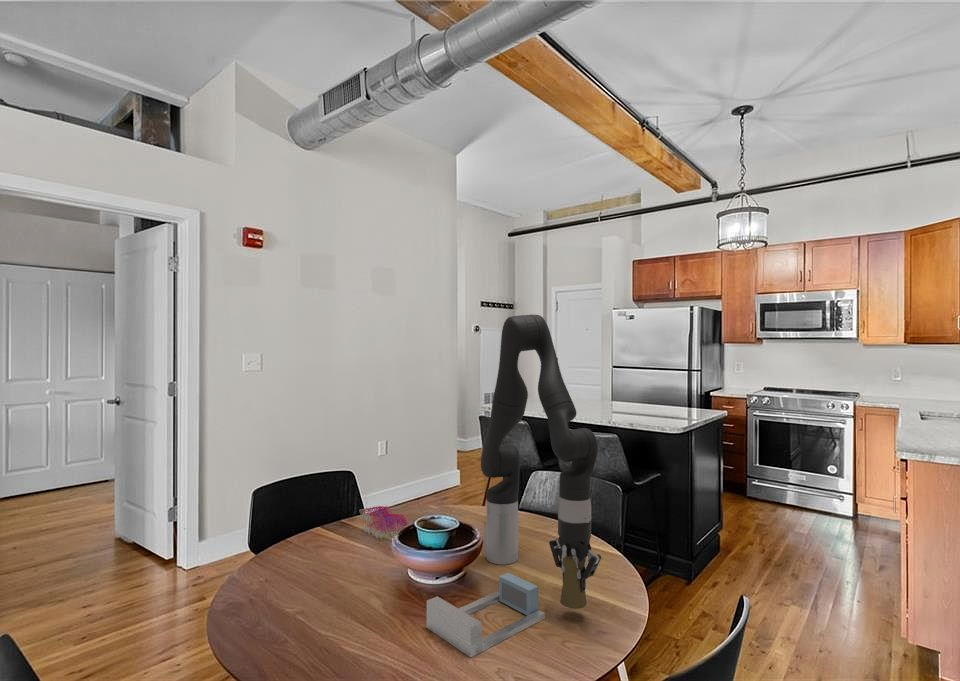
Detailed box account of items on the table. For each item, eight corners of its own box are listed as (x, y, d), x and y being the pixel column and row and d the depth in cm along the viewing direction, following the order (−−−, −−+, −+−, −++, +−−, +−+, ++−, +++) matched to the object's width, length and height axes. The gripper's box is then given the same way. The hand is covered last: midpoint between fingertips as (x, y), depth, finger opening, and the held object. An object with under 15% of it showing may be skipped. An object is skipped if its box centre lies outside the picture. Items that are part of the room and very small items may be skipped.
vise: (426, 627, 117) (426, 600, 117) (499, 595, 132) (499, 571, 132) (470, 657, 106) (470, 627, 106) (544, 618, 121) (544, 592, 121)
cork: (589, 609, 118) (589, 560, 118) (562, 608, 118) (562, 560, 118) (584, 595, 124) (584, 549, 124) (558, 595, 124) (559, 549, 124)
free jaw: (499, 601, 128) (498, 576, 128) (508, 596, 130) (508, 572, 130) (529, 616, 121) (529, 590, 121) (538, 612, 123) (538, 586, 123)
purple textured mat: (357, 515, 194) (357, 501, 194) (398, 511, 199) (398, 497, 199) (367, 545, 166) (367, 529, 166) (414, 539, 171) (414, 523, 171)
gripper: (540, 511, 124) (540, 584, 124) (589, 528, 113) (589, 608, 114) (561, 504, 129) (560, 574, 129) (609, 520, 118) (609, 596, 119)
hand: (574, 590), depth 121 cm, fingers closed on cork, 3 cm apart
